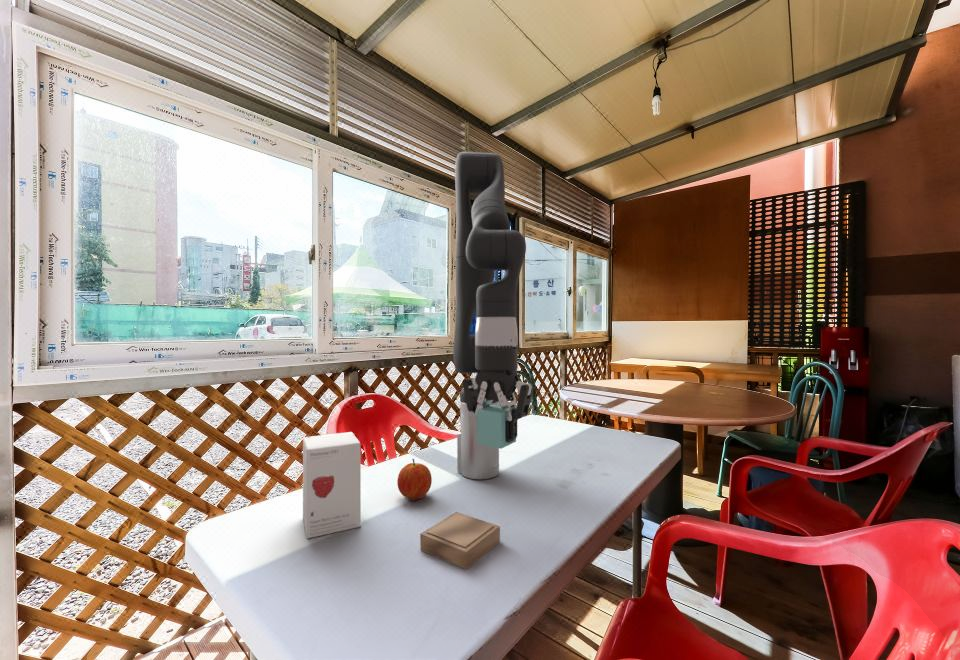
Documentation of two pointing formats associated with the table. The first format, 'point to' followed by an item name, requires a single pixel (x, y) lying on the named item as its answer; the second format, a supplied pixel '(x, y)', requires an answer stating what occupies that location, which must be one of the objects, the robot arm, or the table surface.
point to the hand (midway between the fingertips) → (496, 438)
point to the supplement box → (331, 483)
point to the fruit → (414, 480)
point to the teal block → (492, 427)
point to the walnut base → (460, 539)
